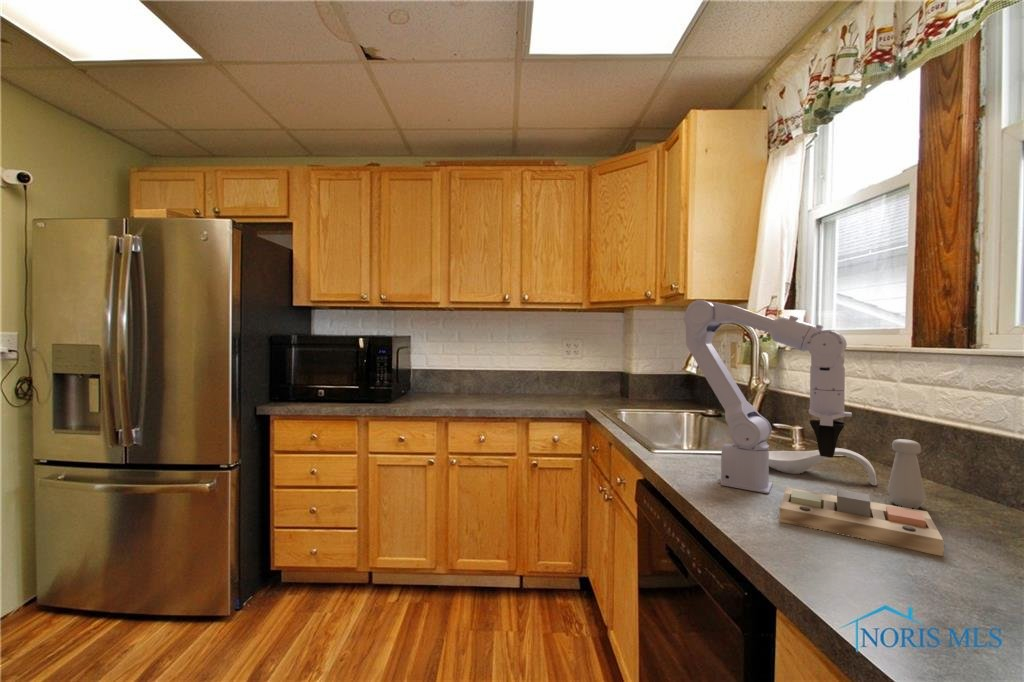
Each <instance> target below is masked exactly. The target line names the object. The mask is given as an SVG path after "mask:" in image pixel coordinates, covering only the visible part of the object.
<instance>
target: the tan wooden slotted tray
mask: <svg viewBox="0 0 1024 682" xmlns="http://www.w3.org/2000/svg"><path fill="white" fill-rule="evenodd" d="M793 490H796V491H801V492H807V493H813V494H819V495H821V508H817V507H811V506H806V505H801V504H795V503H791V494H792V491H793ZM781 499H782V500H781V503H780V506H779V522H780V523H785V524H789V525H794V526H798V525H799V527H803V526H805V527H804V528H807V527H809V528H808V529H812V528H814V529H813V530H817V529H819V530H818V531H821V530H823V531H822V532H826V531H828V532H827V533H831V532H833V533H832V534H836V533H839V534H838V535H840V534H844V535H843V536H845V535H849V536H848V537H850V536H853V537H852V538H854V537H858V538H857V539H859V538H861V539H860V540H864V539H866V540H865V541H869V540H870V542H873V541H874V543H878V542H879V544H883V545H889V546H894V547H898V548H902V549H907V550H912V551H917V552H922V553H926V554H931V555H935V556H939V557H944V539H943V537H942V535H941V533H940V531H939V530H938V528H937V526H936V525H935V522H934V521H933V519H932V517H931V515H930V513H929V512H928V511H927V510H921V509H912V508H905V507H901V506H897V505H891V504H885V503H880V502H873V501H870V517H865V516H859V515H854V514H849V513H843V512H838V511H837V495H831V494H827V493H822V492H816V491H809V490H805V489H804V490H803V489H799V488H791V487H788V486H787V487H785V490H784V494H783V497H782V498H781ZM886 506H888V507H894V508H900V509H906V510H912V511H917V512H921V513H922V515H923V517H924V519H925V521H926V528H923V527H918V526H913V525H907V524H902V523H897V522H891V521H886Z"/></svg>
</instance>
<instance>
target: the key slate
mask: <svg viewBox="0 0 1024 682" xmlns="http://www.w3.org/2000/svg"><path fill="white" fill-rule="evenodd" d="M836 496H837V511H838V512H843V513H849V514H854V515H859V516H865V517H870V502H871V498H870V495H869V493H861V492H857V491H856V492H855V491H850V490H845V489H839V488H837V489H836Z"/></svg>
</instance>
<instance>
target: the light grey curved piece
mask: <svg viewBox="0 0 1024 682" xmlns="http://www.w3.org/2000/svg"><path fill="white" fill-rule="evenodd" d="M834 456H843V457H848V458H851V459H853V460H855V461H856V462H858V463H860V464H861V465H862V466H863V467H864V469H865V470H866V472H867V475H868V480H869V484H870V485H871V486H877V482H878V481H877V476H876V475H877V474H876V471H875V469H874V466H873V465H872V464H871V462H870V461H869V460H868V459H867V458H866V457H865V456H863V455H861V454H859V453H858V452H855V451H853V450H850V449H846V448H841V447H840V448H839V447H835V452H834V455H833V457H834ZM827 458H829V457H824V456H820V453H819V449H815V450H798V451H795V450H794V451H793V450H790V451H789V450H772V451H771V450H769V467H770V468H771V469H773V470H776V471H778V472H780V471H781V473H786V474H793V475H796V474H797V475H799V474H800V473H801V474H804V472H806V471H808V470H809V469H811V468H813V467H814V466H815V465H816V464H818V463H820V462H821V461H823V460H826V459H827Z"/></svg>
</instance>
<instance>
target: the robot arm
mask: <svg viewBox="0 0 1024 682" xmlns="http://www.w3.org/2000/svg"><path fill="white" fill-rule="evenodd" d="M682 319H683V322H684V324H685V325H684V326H685V345H686V346H687V349H688V350H689V352H690V354H691V355H692V358H693V359H694V361H695V362H696V364H697V366H698V367H699V370H700V371H701V373H702V375H703V376H704V378H705V379H706V381H707V383H708V385H709V387H711V389H712V391H713V393H714V395H715V396H716V398H717V400H718V401H719V403H720V404H721V406H722V408H723V409H724V415H725V416H724V420H725V422H726V424H727V426H728V431H729V432H728V433H729V436H730V438H731V441H732V443H723V445H722V448H721V453H720V454H721V455H720V456H721V458H720V461H721V462H720V464H721V465H720V486H723V487H724V486H725V487H729V488H735V489H740V490H741V489H742V490H746V491H751V492H756V493H757V492H758V493H763V494H769V492H770V491H771V488H772V486H773V482H771V481H769V478H770V477H769V475H770V474H769V473H770V468H769V451H770V445H769V444H768V443H767V442H768V441H767V439H768V440H769V438H770V436H771V434H772V430H773V429H772V425H771V423H770V422H769V420H768V419H767V418H765V417H764V416H762V415H761V413H759V412H758V411H757V408H756V407H755V406H754V405H752V404H751V403H750V402H748V400H747V399H746V397H745V395H744V393H743V392H742V391H741V388H740V387H739V386H738V383H737V382H736V380H735V379H734V378H733V376H732V374H731V373H730V370H728V368H727V366H726V365H725V363H724V362H723V360H722V359H721V357H720V355H719V353H718V351H717V350H716V349H715V346H714V345H713V344H712V342H713V339H714V337H715V334H716V332H717V331H718V330H719V328H720V327H721V326H722V325H723V324H730V323H736V324H740V325H743V326H745V327H750V328H752V329H757V330H759V331H763V332H765V333H768V334H769V336H770V337H771V340H772V341H774V342H775V343H777V344H778V343H779V344H781V345H784V346H788V347H790V348H793V349H796V350H799V351H802V352H808V353H809V354H810V356H811V357H810V358H811V359H810V362H811V363H810V368H809V379H810V380H809V409H808V414H809V415H812V416H814V417H816V418H819V419H810V420H809V424H810V426H811V428H812V430H813V432H814V435H815V438H816V443H817V448H818V449H817V450H819V453H820V456H824V457H828V458H833V457H834V456H833V455H834V452H835V448H837V442H838V439H839V436H840V434H841V432H842V431H843V428H844V427H845V422H844V420H837V419H840V418H844V417H848V418H849V417H850V418H851V417H853V413H852V412H851V411H850V412H849V411H845V388H846V387H845V386H846V385H845V382H846V381H845V379H846V378H845V377H846V375H845V374H846V373H845V372H846V368H845V366H844V364H845V358H844V357H845V356H844V354H843V353H845V351H846V350H847V340H846V338H845V337H844V336H843V334H841V333H840V332H837V331H835V329H825V330H823V328H824V326H823V325H822V324H820V323H819V324H816V325H815V324H814V325H813V324H810V323H808V322H804V321H801V320H799V317H798V316H794V315H789V317H788V316H780V317H779V318H777V319H774V318H771V317H769V316H765V315H763V314H760V313H757V312H755V311H751V310H748V309H745V308H743V307H739V306H737V305H733V304H732V305H731V304H727V303H722V302H721V303H720V302H714V301H707V300H704V299H697V300H693V301H691V303H690V304H688V306H687V308H686V310H685V313H684V315H683V317H682Z"/></svg>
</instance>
